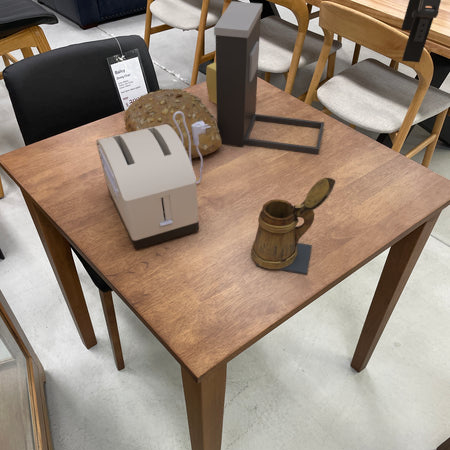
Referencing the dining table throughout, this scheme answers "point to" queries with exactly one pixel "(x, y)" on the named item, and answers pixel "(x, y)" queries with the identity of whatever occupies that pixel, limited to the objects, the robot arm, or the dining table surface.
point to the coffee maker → (245, 80)
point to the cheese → (211, 82)
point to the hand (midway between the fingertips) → (409, 44)
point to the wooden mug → (286, 226)
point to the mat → (299, 260)
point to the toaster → (153, 181)
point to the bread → (163, 114)
